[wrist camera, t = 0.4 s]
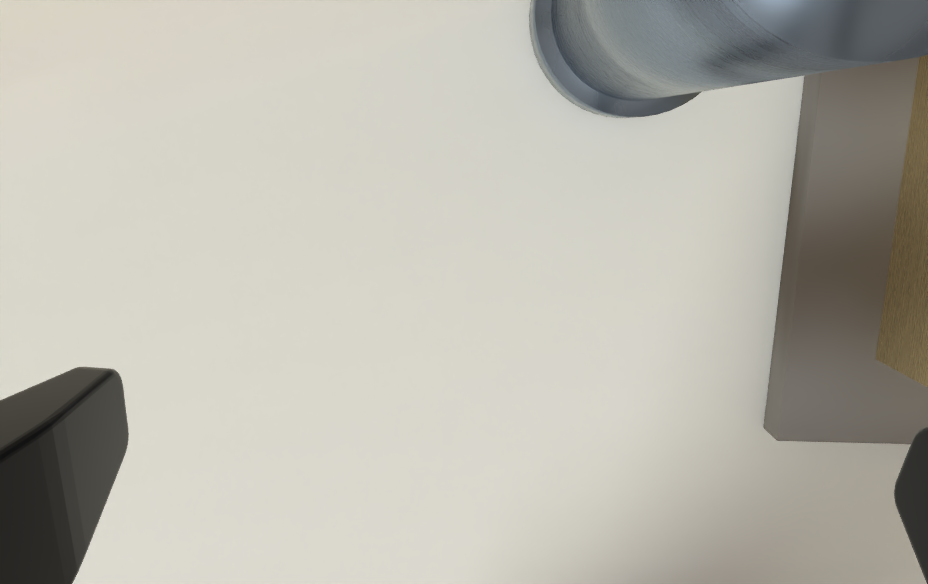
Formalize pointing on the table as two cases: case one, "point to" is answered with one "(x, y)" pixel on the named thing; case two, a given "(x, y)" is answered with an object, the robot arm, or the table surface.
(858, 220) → the shaft board
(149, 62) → the table surface
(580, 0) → the steel coupler
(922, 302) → the socket
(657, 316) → the table surface
